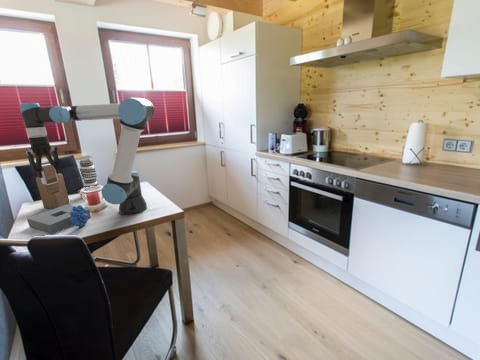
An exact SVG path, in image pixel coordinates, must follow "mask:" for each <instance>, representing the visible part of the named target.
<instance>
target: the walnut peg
mask: <svg viewBox="0 0 480 360" xmlns="http://www.w3.org/2000/svg"><path fill="white" fill-rule="evenodd" d="M42 171H44V174H45V178H46V182H47V184H44V188H45V190H46V191H47V193H48V194H54V193H57V192H59V189H58V188H59V184H58V181H57V177H56V173H55V169H54V166H53V165H50V164H48V165H46V164H45V165H42Z"/></svg>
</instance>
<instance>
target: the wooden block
mask: <svg viewBox="0 0 480 360" xmlns="http://www.w3.org/2000/svg"><path fill="white" fill-rule="evenodd" d="M57 177H58V184H59V188H58V189H59V192H57V193H54V194H48V193H47V191H46V190H45V188H44V184H42V181H41V178H39V177H38V176H37V177H36V178H35V181H36V185H37V188H38V193H39V195H40V198H41V203H42V205H43V206H42V207H43V208H44V209H55V208H58V207H61V206H63V205H66V204H67V205H69V203H70V199H69V194H68V190H67V188H66V183H65V180H64V175H63V174H62V173H60V172H58V174H57Z"/></svg>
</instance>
